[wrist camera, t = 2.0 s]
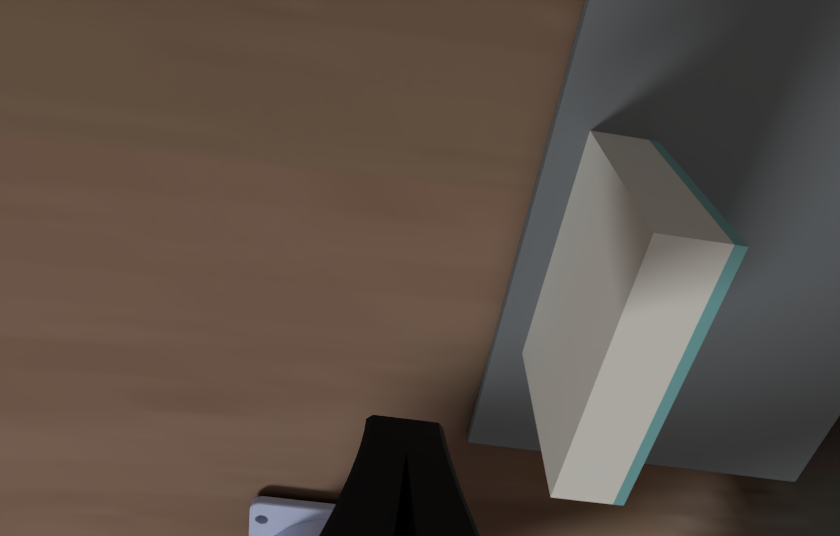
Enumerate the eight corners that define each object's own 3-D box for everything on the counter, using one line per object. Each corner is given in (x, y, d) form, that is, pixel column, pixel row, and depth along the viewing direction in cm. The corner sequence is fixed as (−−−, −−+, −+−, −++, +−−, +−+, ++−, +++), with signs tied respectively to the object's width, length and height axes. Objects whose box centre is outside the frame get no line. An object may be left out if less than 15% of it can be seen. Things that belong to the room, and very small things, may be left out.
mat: (790, 474, 26) (795, 481, 26) (467, 434, 25) (468, 442, 25) (1081, 31, 17) (1094, 35, 17) (600, -55, 16) (603, -53, 16)
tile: (578, 360, 22) (623, 505, 17) (522, 353, 22) (550, 497, 17) (658, 141, 18) (748, 246, 13) (589, 130, 18) (653, 233, 13)
